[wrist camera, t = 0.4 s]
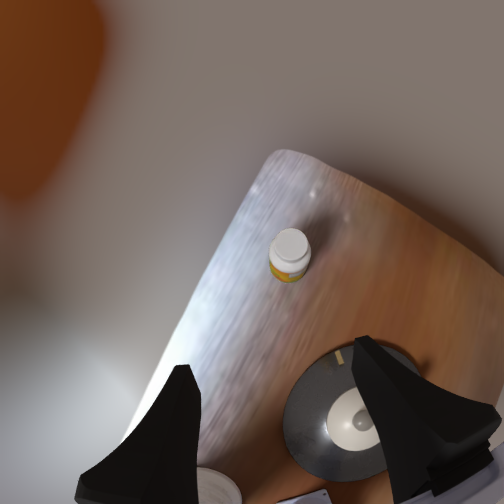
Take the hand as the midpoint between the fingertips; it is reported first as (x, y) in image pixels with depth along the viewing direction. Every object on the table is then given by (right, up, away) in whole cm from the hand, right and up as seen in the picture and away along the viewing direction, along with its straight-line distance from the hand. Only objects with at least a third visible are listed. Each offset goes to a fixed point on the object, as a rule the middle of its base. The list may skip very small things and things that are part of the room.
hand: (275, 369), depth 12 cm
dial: (+16, -18, +22) cm, 32 cm away
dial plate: (+14, -19, +23) cm, 33 cm away
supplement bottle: (+4, +3, +31) cm, 32 cm away
